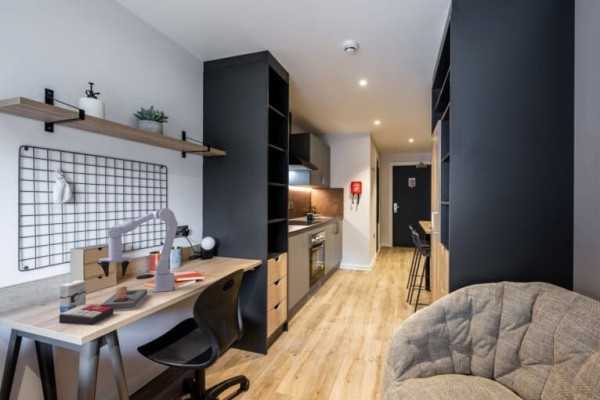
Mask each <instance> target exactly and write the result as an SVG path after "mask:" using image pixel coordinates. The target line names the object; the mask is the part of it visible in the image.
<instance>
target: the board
mask: <svg viewBox="0 0 600 400" xmlns="http://www.w3.org/2000/svg"><path fill="white" fill-rule="evenodd" d="M147 295H148V288H147V289H146V288H144V289H142V288H141V289H127V301H126V302H117V297H116V293H114V294H112V296H110V297H109V298H107V300H105V301H104V302H103V303H101V304H100V306H105V307H112V308H113V312H115V311H128V310H135V308H136V307H138V306H139V304H140V303H141V302H143V300H145V298H146V297H147Z"/></svg>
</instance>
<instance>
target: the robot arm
mask: <svg viewBox="0 0 600 400" xmlns="http://www.w3.org/2000/svg"><path fill="white" fill-rule="evenodd" d="M159 219H160V220H162V221H163V222H165V224H166V226H167V227H168V229H167V232H166V235H165V239H164V243H163V247H162V250H161V254H160V257H159V260H158V261H157V263H156V265H155V272H154V289H153V290H152V293H156V292H157V293H158V292H160V293H161V292H172V291H173V289H174V288H175V287H174V286H175V273H174V272H170V270H169V267H170V263H169V260H170V256H171V252H172V249H173V245H174V241H175V237H176V235H177V231H178V227H179V223H178V221H177V219H176V216H175V213H174V212H173V211H172V210H171V209H170V208H168V207H164V208H162V209H158V210H155V211H151V212H149V213H146V214H145V215H143V216H141V217H138V218H137V219H133V218H130V219H129V218H127V219H126V220H124V221H123V222H121V223H117V224H116V225H115V226H112V227H110V228H108V231H107V235H108V257H104V258H103V257H102V258H99V259H98V263H99V265H100V267H101V268H102V270H103V273H104V276H105V277H106V278H108V277H109V275H110V263H121V277H125V276H126V273H127V270H128V267H129V265H130V263H131V262H132V257H128V256H123V239H122V235H125V234H127V233H129V232H132V231H135V230H136V229H137V228H138V226H139V225H142V224H144V223H146V222H148V221H151V220H159Z"/></svg>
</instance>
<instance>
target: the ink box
mask: <svg viewBox="0 0 600 400" xmlns="http://www.w3.org/2000/svg"><path fill="white" fill-rule="evenodd" d="M86 284H87V282H86V280H79V279H78V280H72V281H69V282H66V283H62V284H61V285H59V313H63V312H66V311H68V310H71V309H73V308H75V307H78V306H80V305H87V303H86V302H87V301H86V300H87V299H86V298H87V297H86V295H87V293H86V292H87V289H86V287H87V285H86Z"/></svg>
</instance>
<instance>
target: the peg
mask: <svg viewBox="0 0 600 400" xmlns="http://www.w3.org/2000/svg"><path fill="white" fill-rule="evenodd" d="M127 288H128V287H127V286H118V287H117V288H116V297H117V302H126V301H127V290H128V289H127Z"/></svg>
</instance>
